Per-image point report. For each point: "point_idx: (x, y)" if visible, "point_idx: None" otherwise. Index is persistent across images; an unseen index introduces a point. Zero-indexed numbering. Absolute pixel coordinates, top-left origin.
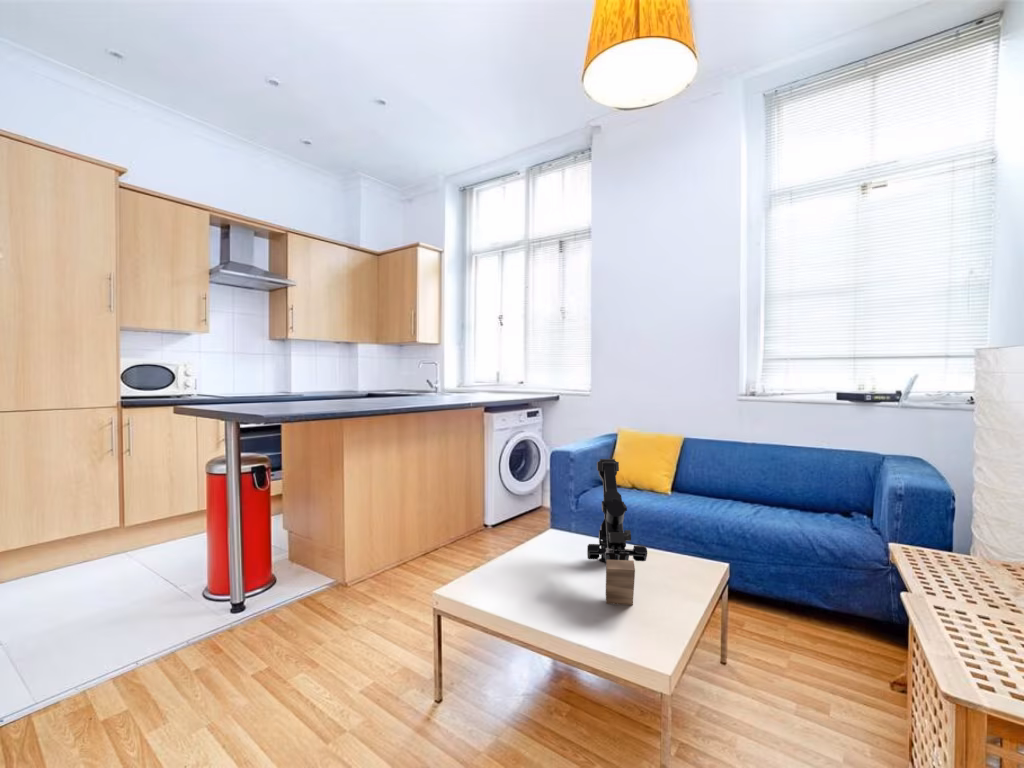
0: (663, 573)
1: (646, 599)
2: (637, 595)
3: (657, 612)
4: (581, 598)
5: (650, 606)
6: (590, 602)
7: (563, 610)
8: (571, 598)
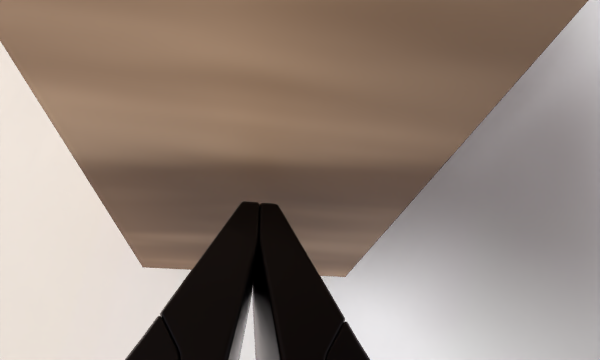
0: None
1: (26, 284)
2: (82, 349)
3: (10, 92)
4: (485, 269)
5: (33, 174)
6: (433, 218)
7: (574, 121)
8: (541, 265)
